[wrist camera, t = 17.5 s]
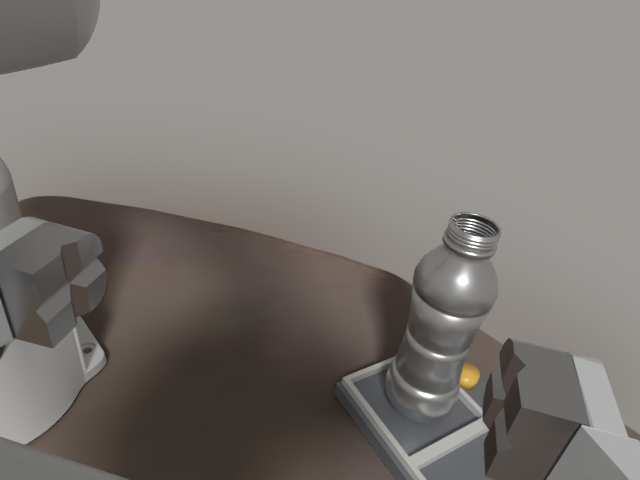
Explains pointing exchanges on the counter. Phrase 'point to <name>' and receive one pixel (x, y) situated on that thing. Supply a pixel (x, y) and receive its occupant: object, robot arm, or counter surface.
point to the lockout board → (419, 428)
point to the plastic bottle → (444, 319)
